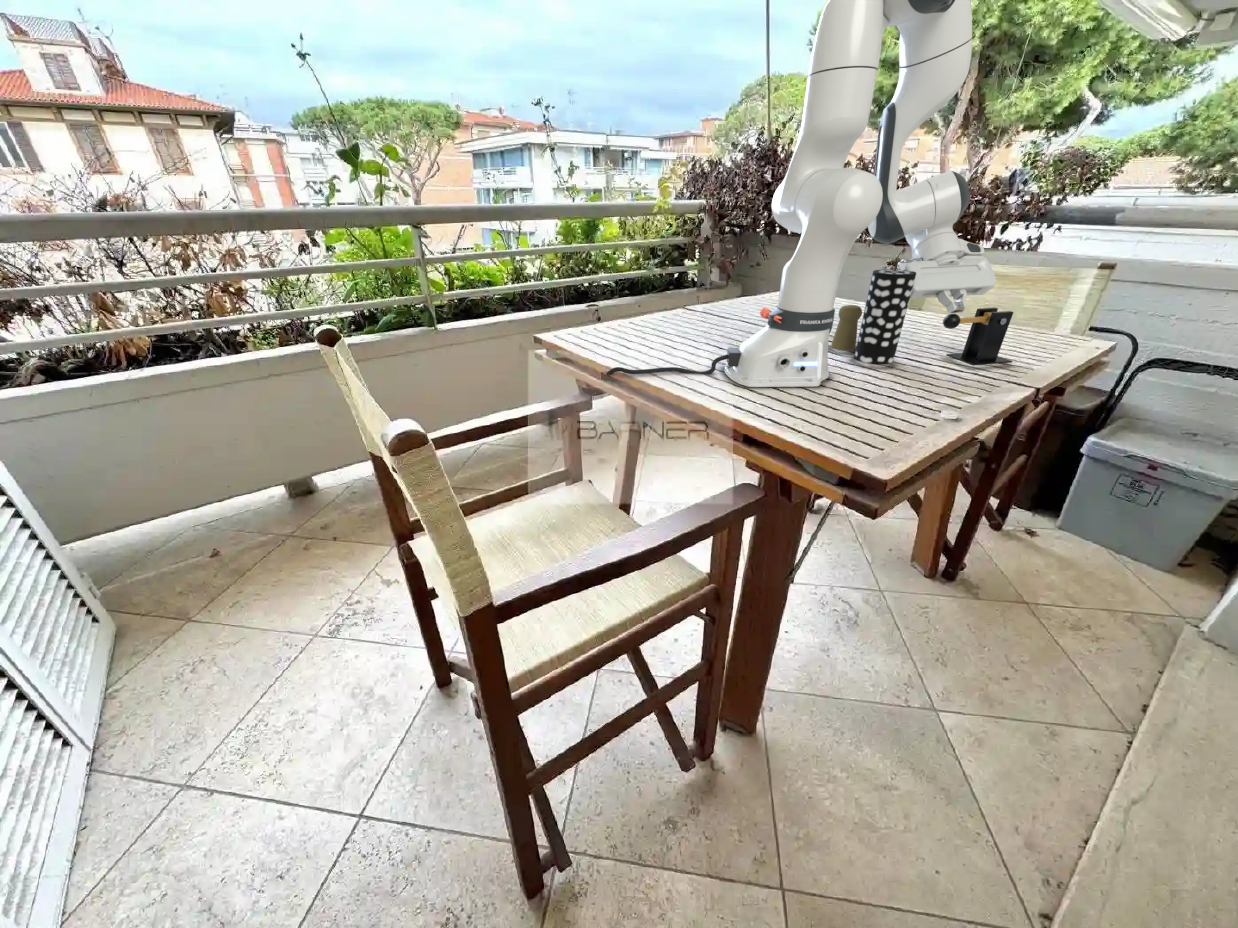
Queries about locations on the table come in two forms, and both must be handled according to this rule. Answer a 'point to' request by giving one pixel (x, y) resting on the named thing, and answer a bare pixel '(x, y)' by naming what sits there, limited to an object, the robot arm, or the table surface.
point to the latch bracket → (985, 339)
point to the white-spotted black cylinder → (884, 315)
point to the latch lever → (964, 320)
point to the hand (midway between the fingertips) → (957, 311)
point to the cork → (847, 328)
